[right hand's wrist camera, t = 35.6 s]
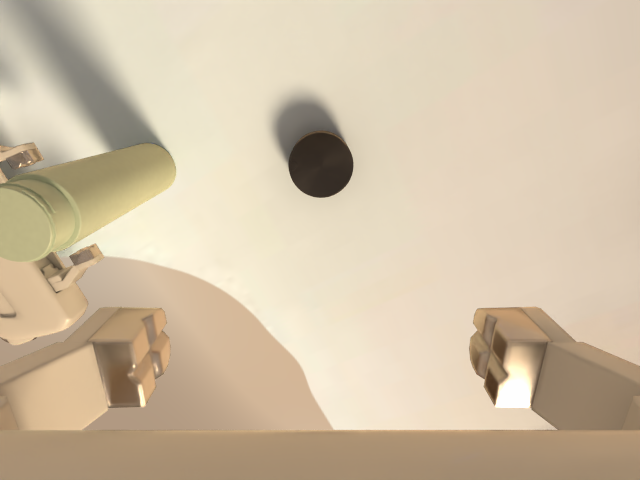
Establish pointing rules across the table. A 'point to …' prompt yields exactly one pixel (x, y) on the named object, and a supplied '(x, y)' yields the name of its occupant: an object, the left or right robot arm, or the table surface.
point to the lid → (321, 164)
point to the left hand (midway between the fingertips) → (67, 204)
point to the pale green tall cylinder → (77, 199)
